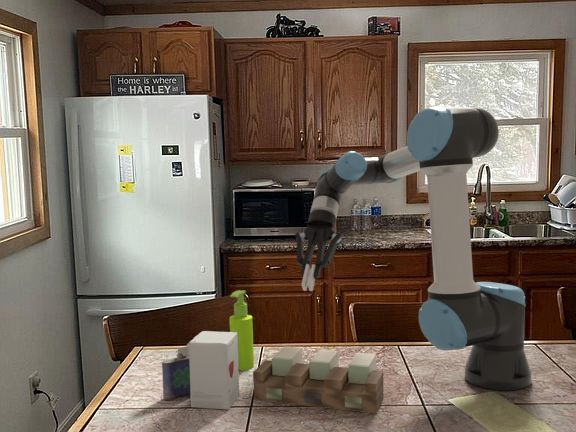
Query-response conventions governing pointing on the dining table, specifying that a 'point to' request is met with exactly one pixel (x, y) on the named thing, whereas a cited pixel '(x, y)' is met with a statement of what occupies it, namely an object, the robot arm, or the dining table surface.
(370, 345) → the dining table surface
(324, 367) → the button middle
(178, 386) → the flask
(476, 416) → the dining table surface
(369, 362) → the button
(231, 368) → the supplement box
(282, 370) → the button
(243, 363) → the soap dispenser
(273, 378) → the brown wooden slotted rack
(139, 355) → the dining table surface
